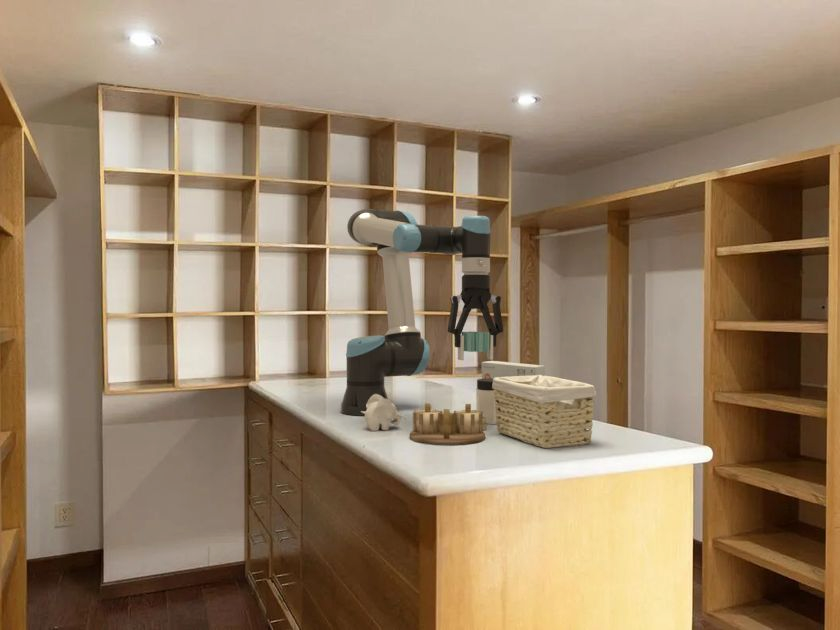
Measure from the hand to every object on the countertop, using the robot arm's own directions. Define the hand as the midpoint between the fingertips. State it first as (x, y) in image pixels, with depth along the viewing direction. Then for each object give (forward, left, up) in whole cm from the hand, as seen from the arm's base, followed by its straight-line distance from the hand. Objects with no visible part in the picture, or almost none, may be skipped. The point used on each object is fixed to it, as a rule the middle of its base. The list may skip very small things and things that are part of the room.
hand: (475, 359), depth 186 cm
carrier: (+10, -11, -19) cm, 24 cm away
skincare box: (-17, +18, -19) cm, 31 cm away
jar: (-9, +8, -19) cm, 22 cm away
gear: (0, 0, +2) cm, 2 cm away
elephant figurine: (-7, -24, -19) cm, 31 cm away
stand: (0, 0, -19) cm, 19 cm away
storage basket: (+17, +11, -19) cm, 28 cm away
